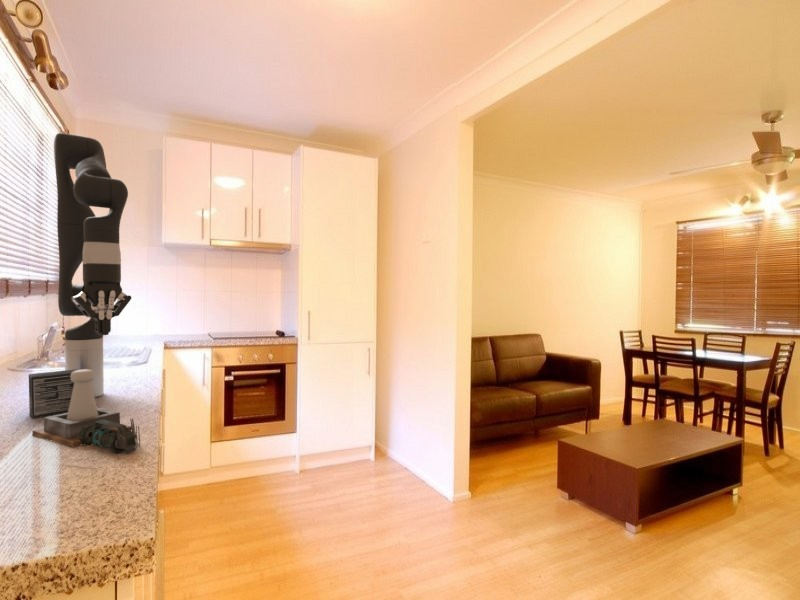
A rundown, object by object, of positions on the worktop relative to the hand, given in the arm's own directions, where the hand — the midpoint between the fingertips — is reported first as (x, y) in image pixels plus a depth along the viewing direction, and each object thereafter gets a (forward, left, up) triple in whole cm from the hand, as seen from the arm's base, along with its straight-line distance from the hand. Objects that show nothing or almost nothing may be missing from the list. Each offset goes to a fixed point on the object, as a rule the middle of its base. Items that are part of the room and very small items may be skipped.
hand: (102, 334), depth 105 cm
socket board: (+4, -7, -21) cm, 22 cm away
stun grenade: (+19, -9, -22) cm, 30 cm away
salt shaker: (+4, -6, -20) cm, 22 cm away
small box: (-20, -1, -21) cm, 29 cm away
